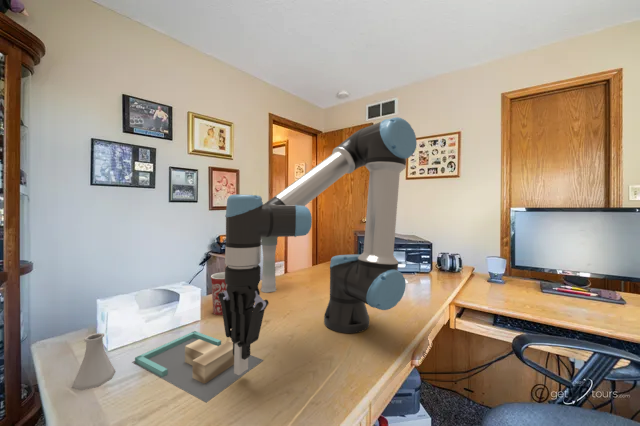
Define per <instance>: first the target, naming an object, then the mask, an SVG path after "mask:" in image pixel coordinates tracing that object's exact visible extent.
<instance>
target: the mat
mask: <svg viewBox="0 0 640 426" xmlns="http://www.w3.org/2000/svg"><path fill="white" fill-rule="evenodd" d="M199 339H200V340H203V341H206V342H208V343H211V344H213V345H216V346H220V345H221V344H222V340H221V339H218V338H215V337H212V336H209V335H207V334H204V333H201V332H198V331H196V330H194V331H192V332H189V333H187V334H185V335H183V336H179V337H178V338H176V339H173V340H172V341H169V342H167V343H164V344H163V345H160V346H158V347H156V348H153V349H151V350H149V351H147V352H145V353H142V354H140V355H137V356H136V357H135V358H134V361H132V362H131V364H134V365H136V366H138V367H140V368H141V369H144V370H146V371H147V372H149V373H151V374H153V375H155V376H156V377H158V378H160V379H162V380H164V381H165V382H167V383H169V384H171V385H172V386H175V387H176V388H179V389H180V390H182V391H184V392H186V393H188V394H190V395H191V396H194V397H195V398H197V399H199V400H201V401H202V402H203V403H208V402H209V401H210V400H212V399H213V398H215V397H216V396H218V395H219V394H220V393H222V392H223V391H224V390H225V389H227V388H228V387H230V386H231V385H232V384H233V383H235V382H236V381H238V380H239V379H241V377H243V376H244V375H247V373H249V372H250V371H252V370H253V369H254V368H255V367H257V366H258V365H259V364H261V363H262V362H263V361H264V359H262V358H259V357H257V356H255V355H252V354H250V357H248V369H247V370H246V371H245V372H243V373H242V374H240V375H237V374H235V373H234V365H232V366H231V367H229V368H228V369H226V370H225V371H223V372H222V373H220V374H219V375H217V376H216V377H214V378H213V379H211V380H210V381H208V382H207V383H205V384H204V383H202V382H200V381H198V380H196V379H194V378H193V366H192V365H190V364H188V363H186V362H185V346H186V345H188V344H190V343H192V342H194V341H196V340H199Z"/></svg>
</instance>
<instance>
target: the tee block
mask: <svg viewBox="0 0 640 426" xmlns="http://www.w3.org/2000/svg"><path fill="white" fill-rule="evenodd" d="M185 362H186V363H188V364H190V365H192V366H193V378H194V379H196V380H198V381H200V382H202V383H204V384H205V383H207V382H208V381H210V380H211V379H213V378H214V377H216V376H217V375H219V374H220V373H222V372H223V371H225V370H226V369H228V368H229V367H231V366H232V365H234V355H233V342H232V341H229V340H227V341H226V342H223V343H221V345H220V346H216V345H213V344H211V343H208V342H206V341H203V340H200V339H199V340H196V341H194V342H192V343H190V344H188V345H186V346H185Z"/></svg>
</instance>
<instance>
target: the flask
mask: <svg viewBox="0 0 640 426" xmlns="http://www.w3.org/2000/svg"><path fill="white" fill-rule="evenodd" d="M104 337H105V333H102V332H99V333H93V334H92V333H91V334H89V335H88V336H86V337H85V338H84V340H83V341H84V342H85V345H86V347H85V348H86V349H85V351H84V357H83V360H82V361H81V364H80V367H79V369H78V372H77V374H76V376H75V379H74V381H73V383H72V385H71V389H75V390H79V391H85V390H86V391H87V390H90V389H95V388H99V387H101V386H102V385H104V384H105V383H107V382H109V381H110V380H112V379H113V378H114V375H115V374H116V372H117V371H116V369H115V368H114V365H113V364H112V362H111V360H110V358H109V356H108V354H107V353H106V351H105V348H104V343H103V339H104Z"/></svg>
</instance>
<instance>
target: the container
mask: <svg viewBox="0 0 640 426" xmlns="http://www.w3.org/2000/svg"><path fill="white" fill-rule="evenodd" d="M278 238H279V237H262V238H261V250H262V274H261V275H262V277H261V288H260V292H262V293H274V292H277V289H278V288H277V283H276V281H277V280H276V279H277V277H276V254H277V253H276V251H277V245H278Z"/></svg>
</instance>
